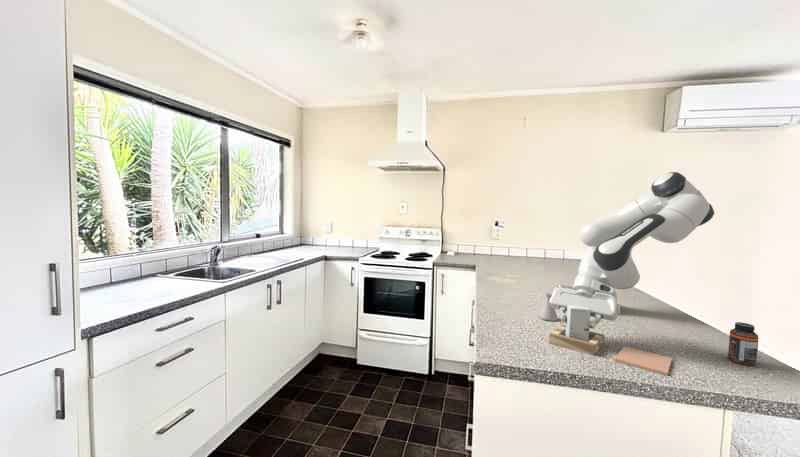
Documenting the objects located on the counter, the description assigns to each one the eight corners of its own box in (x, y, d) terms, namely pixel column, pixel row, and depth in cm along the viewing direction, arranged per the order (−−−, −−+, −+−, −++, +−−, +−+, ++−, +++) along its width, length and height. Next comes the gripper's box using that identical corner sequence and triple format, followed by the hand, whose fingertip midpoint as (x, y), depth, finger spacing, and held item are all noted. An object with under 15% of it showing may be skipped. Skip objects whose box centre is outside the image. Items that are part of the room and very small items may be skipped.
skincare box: (568, 345, 109) (570, 308, 109) (564, 339, 114) (566, 304, 113) (589, 347, 108) (591, 309, 107) (584, 341, 112) (586, 305, 112)
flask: (554, 316, 140) (555, 292, 139) (561, 322, 132) (562, 296, 132) (536, 315, 140) (537, 291, 140) (541, 321, 133) (543, 296, 133)
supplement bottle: (723, 356, 104) (726, 319, 103) (748, 359, 101) (751, 322, 101) (734, 364, 98) (737, 325, 97) (761, 368, 96) (764, 328, 95)
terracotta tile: (623, 348, 107) (623, 346, 107) (671, 360, 99) (672, 358, 99) (614, 361, 98) (614, 358, 98) (667, 375, 90) (667, 372, 90)
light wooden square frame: (562, 333, 120) (562, 324, 120) (603, 343, 111) (604, 334, 111) (548, 343, 111) (549, 334, 110) (593, 355, 102) (594, 345, 102)
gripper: (553, 279, 122) (542, 311, 115) (620, 289, 108) (611, 326, 101) (557, 289, 125) (546, 321, 119) (622, 300, 112) (614, 337, 105)
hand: (577, 324), depth 110 cm, fingers closed on skincare box, 7 cm apart
